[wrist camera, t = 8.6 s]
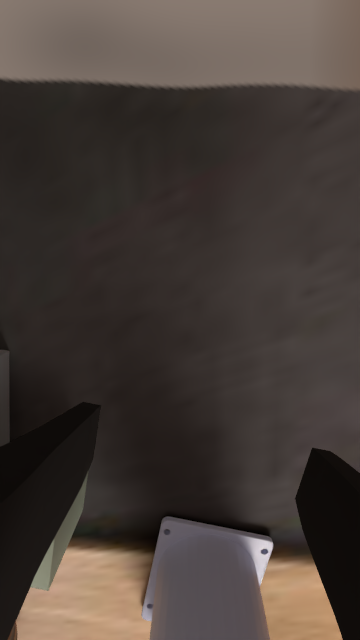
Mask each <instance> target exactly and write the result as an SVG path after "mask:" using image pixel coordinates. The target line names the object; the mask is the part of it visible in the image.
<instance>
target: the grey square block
mask: <svg viewBox="0 0 360 640" xmlns="http://www.w3.org/2000/svg"><path fill="white" fill-rule="evenodd" d="M9 442H10V396H9V351H8V350H1V349H0V446H3V445H5V444H7V443H9Z"/></svg>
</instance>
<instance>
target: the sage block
mask: <svg viewBox="0 0 360 640" xmlns="http://www.w3.org/2000/svg"><path fill="white" fill-rule="evenodd" d="M87 477H88V473H87V475H86V478H85V480H84V482H83V485H82V487H81V489H80V491H79V493H78V495H77V497H76V499H75V501H74V502H73V504H72V506H71V508H70V510H69V512H68V514H67V516H66V517H65V519H64V521H63V523H62V525H61V527H60V529H59V530H58V532H57V534H56V536H55V538H54V540H53V542H52V543H51V545H50V547H49V549H48V551H47V553H46V555H45V557H44V559H43V561H42V563H41V565H40V567H39V569H38V571H37V573H36V575H35V577H34V579H33V582H32V584H31V586H30V587H32V588H37V589H42V590H47V591H48V590H49V588H50V586H51V583H52V581H53V579H54V576H55V574H56V572H57V569H58V567H59V565H60V562H61V560H62V558H63V555H64V553H65V551H66V548H67V546H68V544H69V541H70V539H71V537H72V534H73V532H74V530H75V527H76V525H77V522H78V520H79V518H80V515H81V513H82V511H83V505H84V498H85V491H86V484H87Z"/></svg>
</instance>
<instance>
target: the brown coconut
mask: <svg viewBox="0 0 360 640" xmlns="http://www.w3.org/2000/svg"><path fill="white" fill-rule="evenodd" d="M8 640H17V625H16V621H15V623H14V626H13V628H12V630H11V633H10V635H9V638H8Z"/></svg>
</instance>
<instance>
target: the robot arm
mask: <svg viewBox="0 0 360 640" xmlns="http://www.w3.org/2000/svg"><path fill="white" fill-rule="evenodd" d="M100 408H101V405H96V404H91V403H86V402H82V403H80V404H78V405H77V406H75V407H73V408H72V409H70V410H68V411H67V412H65V413H63V414H62V415H60V416H58V417H57V418H55V419H53V420H51V421H49V422H48V423H46V424H44V425H42V426H41V427H39V428H37V429H35V430H33V431H31V432H29V433H27V434H25V435H23V436H21V437H19V438H17V439H15V440H13V441H11V442H9V443H7V444H5V445H3V446H0V640H8V638H9V635H10V633H11V630H12V628H13V626H14V623H15V621H16V619H17V616H18V614H19V612H20V609H21V607H22V605H23V602H24V600H25V598H26V596H27V593H28V591H29V589H30V586H31V584H32V582H33V579H34V577H35V575H36V573H37V571H38V569H39V567H40V565H41V563H42V561H43V559H44V557H45V555H46V553H47V551H48V549H49V547H50V545H51V543H52V542H53V540H54V538H55V536H56V534H57V532H58V530H59V529H60V527H61V525H62V523H63V521H64V519H65V517H66V516H67V514H68V512H69V510H70V508H71V506H72V504H73V502H74V501H75V499H76V497H77V495H78V493H79V491H80V489H81V487H82V485H83V482H84V480H85V478H86V475H87V473H88V470H89V467H90V465H91V462H92V460H93V455H94V449H95V442H96V435H97V429H98V422H99V415H100ZM295 499H296V504H297V508H298V513H299V517H300V521H301V525H302V529H303V532H304V535H305V538H306V540H307V543H308V546H309V549H310V551H311V554H312V557H313V559H314V562H315V565H316V567H317V570H318V572H319V575H320V578H321V580H322V583H323V586H324V588H325V591H326V593H327V596H328V599H329V601H330V604H331V607H332V609H333V612H334V615H335V617H336V620H337V623H338V626H339V629H340V632H341V635H342V638H343V640H360V473H359V472H358V471H356V470H355V469H354V468H352V467H351V466H350V465H349V464H347V463H346V462H345V461H343V460H342V459H341V458H339V457H338V456H337V455H335V454H334V453H332V452H331V451H326V450H321V449H316V448H312V450H311V453H310V456H309V459H308V462H307V465H306V468H305V471H304V474H303V477H302V480H301V483H300V486H299V489H298V492H297V495H296V498H295ZM165 529H168V530H165ZM272 548H273V542H272V539H271V538H270V537H268V536H265V535H260V534H255V533H250V532H245V531H240V530H235V529H230V528H225V527H220V526H215V525H210V524H205V523H200V522H194V521H189V520H184V519H179V518H174V517H168V516H167V517H164V518H163V519H162V522H161V526H160V531H159V536H158V540H157V545H156V549H155V554H154V558H153V563H152V567H151V572H150V576H149V581H148V586H147V590H146V595H145V599H144V604H143V608H142V617H143V619H145V620H148V621H152V623H151V631H150V640H270V637H269V632H268V627H267V622H266V617H265V611H264V606H263V601H262V596H261V591H260V585H261V582H262V579H263V576H264V573H265V570H266V567H267V564H268V561H269V558H270V555H271V552H272Z"/></svg>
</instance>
